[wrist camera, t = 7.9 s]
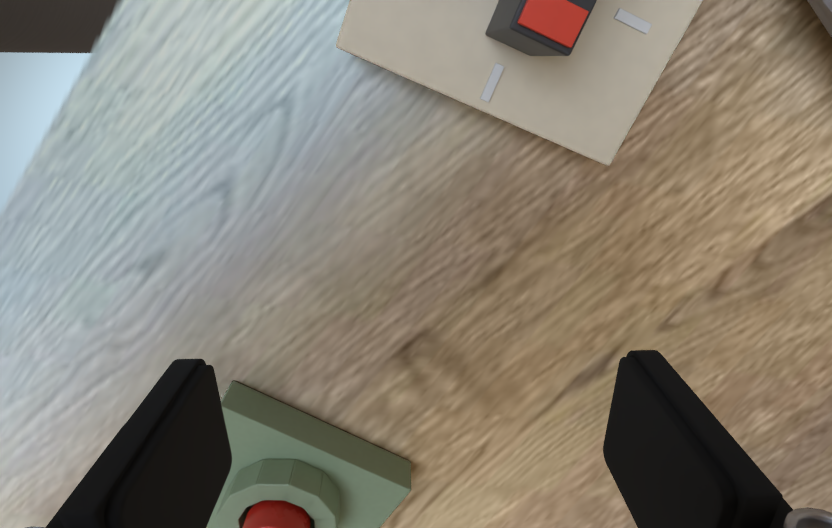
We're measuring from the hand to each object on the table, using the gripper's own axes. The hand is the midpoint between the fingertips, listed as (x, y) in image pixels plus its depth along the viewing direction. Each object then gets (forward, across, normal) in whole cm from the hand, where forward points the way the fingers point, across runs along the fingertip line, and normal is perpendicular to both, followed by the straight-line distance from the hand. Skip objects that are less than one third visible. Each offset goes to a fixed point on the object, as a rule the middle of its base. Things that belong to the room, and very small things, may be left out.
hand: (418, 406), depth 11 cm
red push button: (+10, +8, +16) cm, 21 cm away
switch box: (+14, +8, +16) cm, 23 cm away
